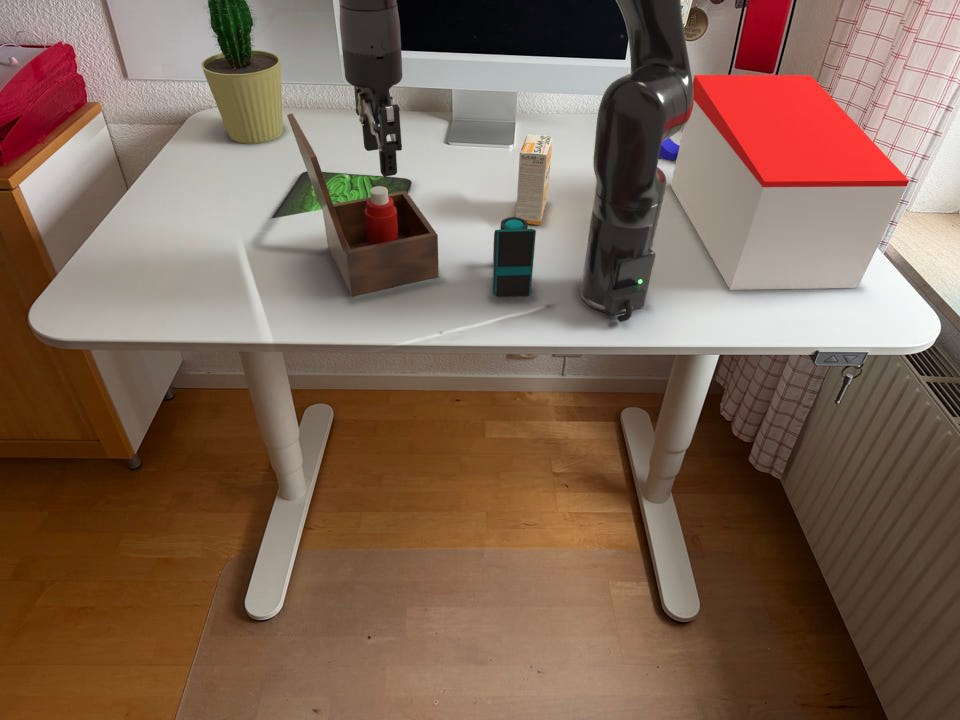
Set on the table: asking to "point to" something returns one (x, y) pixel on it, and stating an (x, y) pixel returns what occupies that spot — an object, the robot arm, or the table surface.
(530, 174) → the supplement box
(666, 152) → the cable clip
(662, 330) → the table surface
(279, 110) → the potted cactus
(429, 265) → the chest
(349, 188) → the mouse mat
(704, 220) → the red-topped white box
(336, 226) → the chest lid
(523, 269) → the black and teal battery
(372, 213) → the ketchup bottle
